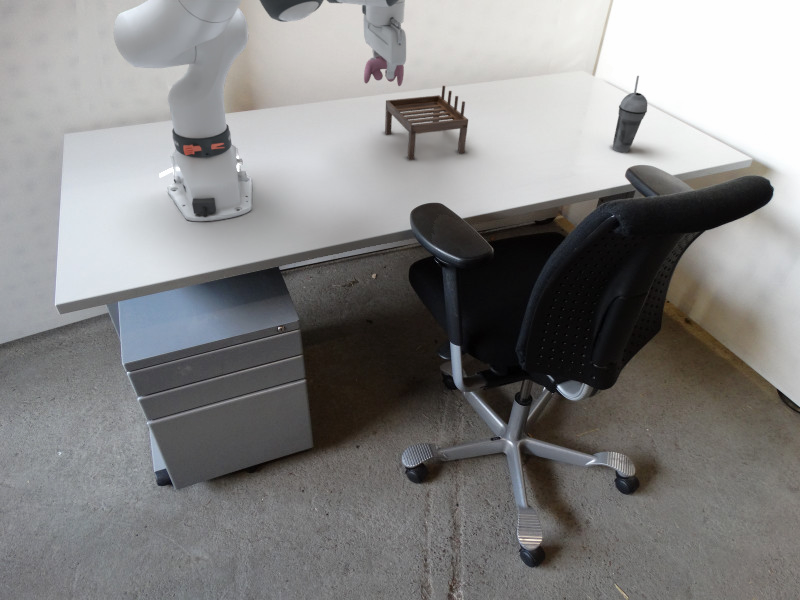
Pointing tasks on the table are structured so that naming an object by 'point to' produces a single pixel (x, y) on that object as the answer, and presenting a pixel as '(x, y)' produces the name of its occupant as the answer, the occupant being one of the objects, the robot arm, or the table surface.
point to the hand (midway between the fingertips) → (383, 72)
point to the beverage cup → (629, 120)
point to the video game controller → (374, 69)
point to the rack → (427, 117)
